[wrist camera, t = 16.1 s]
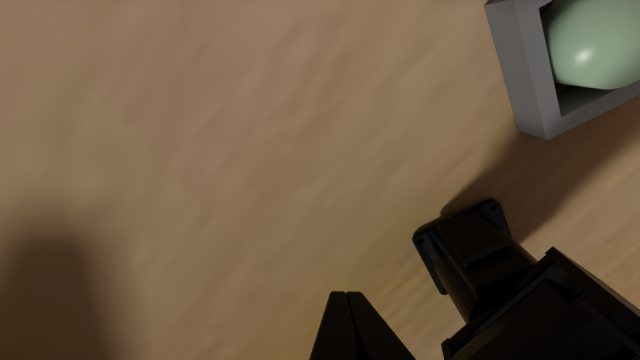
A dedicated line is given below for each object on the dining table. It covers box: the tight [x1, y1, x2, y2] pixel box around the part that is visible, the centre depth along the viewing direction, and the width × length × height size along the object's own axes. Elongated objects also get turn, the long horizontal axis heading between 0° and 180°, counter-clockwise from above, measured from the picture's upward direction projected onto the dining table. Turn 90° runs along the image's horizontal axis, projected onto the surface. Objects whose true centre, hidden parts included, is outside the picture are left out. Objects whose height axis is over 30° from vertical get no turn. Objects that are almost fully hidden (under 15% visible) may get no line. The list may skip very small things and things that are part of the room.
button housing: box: [484, 0, 640, 141], centre depth 16 cm, size 8×8×2 cm
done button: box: [541, 0, 640, 90], centre depth 15 cm, size 5×5×3 cm
